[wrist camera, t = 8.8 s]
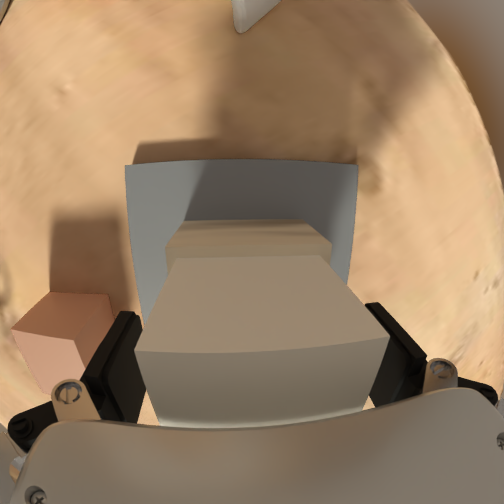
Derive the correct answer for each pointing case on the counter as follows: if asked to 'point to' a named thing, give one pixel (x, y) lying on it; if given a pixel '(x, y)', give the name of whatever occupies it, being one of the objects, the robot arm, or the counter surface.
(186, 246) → the block
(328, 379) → the cream cube
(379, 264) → the counter surface
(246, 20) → the spoon rest
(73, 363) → the terracotta cube
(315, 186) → the plate
